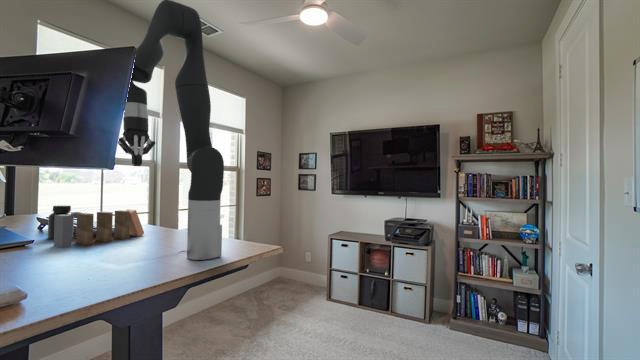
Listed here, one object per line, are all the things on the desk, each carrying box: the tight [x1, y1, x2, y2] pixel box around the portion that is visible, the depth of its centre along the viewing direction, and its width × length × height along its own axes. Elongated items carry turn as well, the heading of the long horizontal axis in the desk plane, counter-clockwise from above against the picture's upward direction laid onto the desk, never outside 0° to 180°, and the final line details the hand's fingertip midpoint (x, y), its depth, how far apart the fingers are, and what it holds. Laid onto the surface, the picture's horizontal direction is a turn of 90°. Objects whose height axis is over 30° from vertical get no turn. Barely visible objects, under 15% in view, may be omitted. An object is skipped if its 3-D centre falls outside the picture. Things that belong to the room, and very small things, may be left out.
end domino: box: [53, 215, 73, 249], centre depth 93 cm, size 2×5×10 cm, turn 65°
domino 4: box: [124, 209, 145, 237], centre depth 113 cm, size 2×5×10 cm, turn 65°
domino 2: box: [95, 211, 114, 243], centre depth 104 cm, size 2×5×10 cm, turn 65°
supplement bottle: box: [47, 205, 75, 241], centre depth 104 cm, size 7×7×12 cm
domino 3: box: [113, 209, 130, 240], centre depth 109 cm, size 2×5×10 cm, turn 65°
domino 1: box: [75, 212, 95, 246], centre depth 98 cm, size 2×5×10 cm, turn 65°
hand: (137, 166), depth 105 cm, fingers closed
